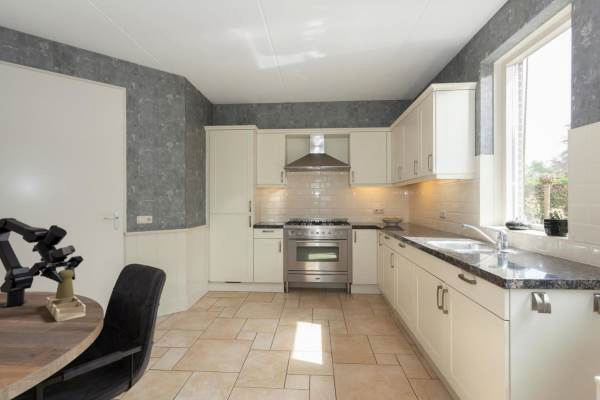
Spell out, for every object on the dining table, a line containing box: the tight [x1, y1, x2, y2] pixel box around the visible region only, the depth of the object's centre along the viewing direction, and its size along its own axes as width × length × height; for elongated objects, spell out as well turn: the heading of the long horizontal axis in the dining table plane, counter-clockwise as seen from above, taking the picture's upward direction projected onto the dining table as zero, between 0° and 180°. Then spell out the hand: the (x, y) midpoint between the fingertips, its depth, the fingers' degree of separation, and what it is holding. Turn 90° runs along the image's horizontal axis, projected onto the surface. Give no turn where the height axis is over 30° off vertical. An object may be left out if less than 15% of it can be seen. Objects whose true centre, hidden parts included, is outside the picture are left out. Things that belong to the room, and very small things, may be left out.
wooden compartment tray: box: [45, 294, 86, 323], centre depth 122 cm, size 25×9×4 cm, turn 48°
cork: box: [55, 269, 75, 299], centre depth 122 cm, size 6×6×11 cm
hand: (68, 280), depth 122 cm, fingers closed on cork, 5 cm apart
